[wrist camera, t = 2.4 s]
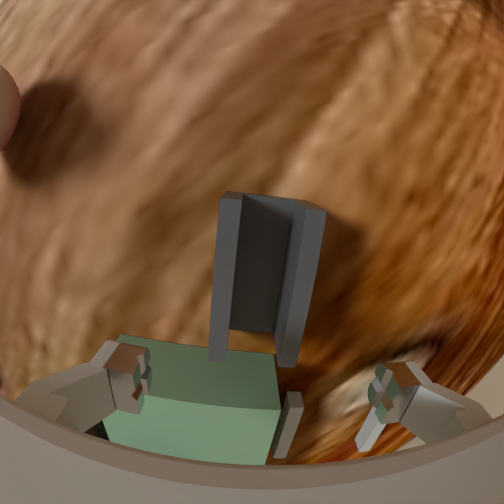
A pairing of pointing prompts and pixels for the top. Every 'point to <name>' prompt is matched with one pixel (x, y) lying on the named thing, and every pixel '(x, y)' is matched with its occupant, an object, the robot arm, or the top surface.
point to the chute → (264, 270)
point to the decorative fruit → (8, 106)
